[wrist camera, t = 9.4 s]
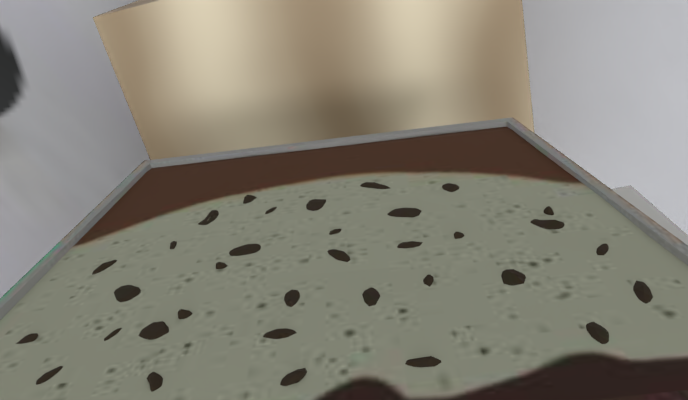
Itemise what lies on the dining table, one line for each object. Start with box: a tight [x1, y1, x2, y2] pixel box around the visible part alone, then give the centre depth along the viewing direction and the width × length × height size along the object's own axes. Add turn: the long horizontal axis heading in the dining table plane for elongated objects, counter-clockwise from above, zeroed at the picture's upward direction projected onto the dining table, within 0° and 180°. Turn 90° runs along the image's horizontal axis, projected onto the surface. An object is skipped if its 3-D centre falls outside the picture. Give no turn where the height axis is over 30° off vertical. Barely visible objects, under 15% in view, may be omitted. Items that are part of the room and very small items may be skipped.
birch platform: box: [93, 0, 534, 160], centre depth 24 cm, size 14×14×5 cm
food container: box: [0, 117, 688, 400], centre depth 11 cm, size 12×6×10 cm, turn 97°
